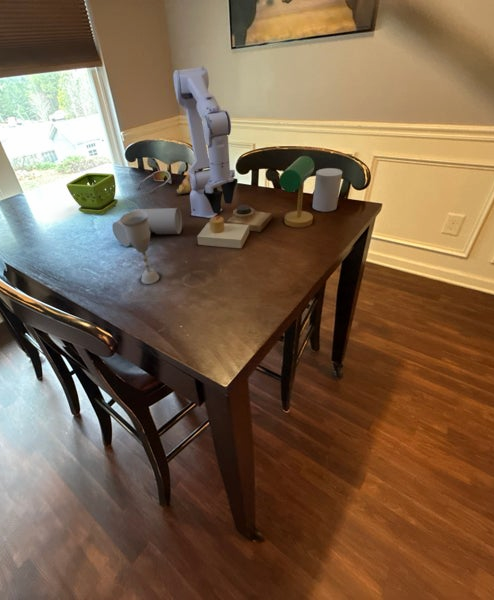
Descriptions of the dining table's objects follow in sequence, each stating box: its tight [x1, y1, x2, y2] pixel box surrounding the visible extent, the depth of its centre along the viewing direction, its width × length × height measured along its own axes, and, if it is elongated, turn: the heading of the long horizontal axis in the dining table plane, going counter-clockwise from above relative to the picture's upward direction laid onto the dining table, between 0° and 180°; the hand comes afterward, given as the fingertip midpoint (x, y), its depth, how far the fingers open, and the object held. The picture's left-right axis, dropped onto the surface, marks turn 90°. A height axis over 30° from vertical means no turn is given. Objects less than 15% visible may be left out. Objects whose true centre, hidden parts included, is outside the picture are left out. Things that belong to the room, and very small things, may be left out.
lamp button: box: [236, 204, 251, 215], centre depth 105 cm, size 4×4×2 cm
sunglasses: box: [137, 170, 173, 193], centre depth 146 cm, size 14×15×5 cm
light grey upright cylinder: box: [311, 167, 343, 213], centre depth 107 cm, size 8×8×12 cm
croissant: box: [176, 173, 192, 195], centre depth 138 cm, size 21×10×8 cm, turn 140°
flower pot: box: [65, 172, 119, 215], centre depth 127 cm, size 14×14×13 cm
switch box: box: [226, 207, 272, 232], centre depth 105 cm, size 12×10×4 cm
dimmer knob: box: [209, 215, 225, 233], centre depth 97 cm, size 4×4×4 cm
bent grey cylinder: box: [111, 207, 183, 247], centre depth 104 cm, size 18×11×20 cm
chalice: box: [119, 211, 160, 285], centre depth 81 cm, size 7×7×18 cm
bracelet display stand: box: [278, 155, 315, 228], centre depth 98 cm, size 9×14×19 cm, turn 150°
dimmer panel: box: [196, 221, 250, 249], centre depth 99 cm, size 14×10×3 cm
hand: (222, 207), depth 96 cm, fingers open, 7 cm apart
